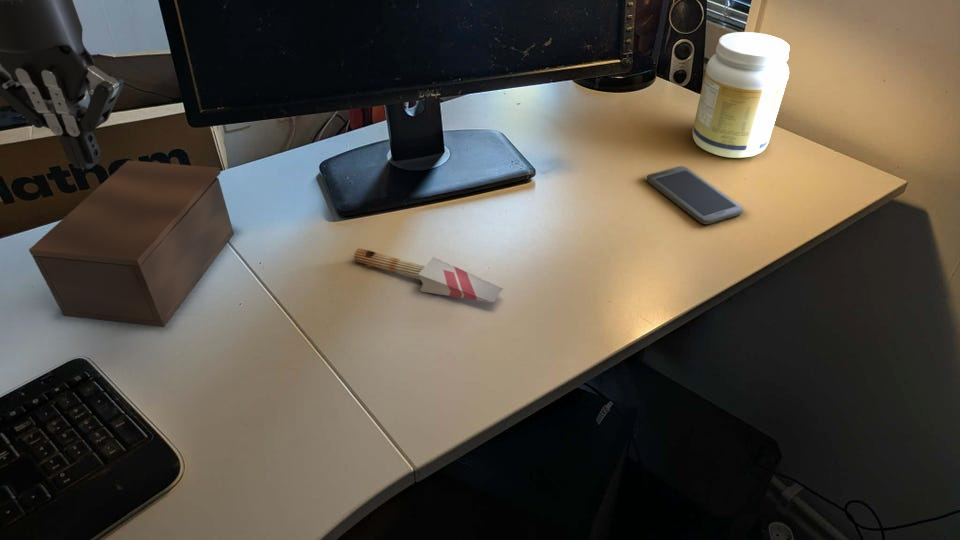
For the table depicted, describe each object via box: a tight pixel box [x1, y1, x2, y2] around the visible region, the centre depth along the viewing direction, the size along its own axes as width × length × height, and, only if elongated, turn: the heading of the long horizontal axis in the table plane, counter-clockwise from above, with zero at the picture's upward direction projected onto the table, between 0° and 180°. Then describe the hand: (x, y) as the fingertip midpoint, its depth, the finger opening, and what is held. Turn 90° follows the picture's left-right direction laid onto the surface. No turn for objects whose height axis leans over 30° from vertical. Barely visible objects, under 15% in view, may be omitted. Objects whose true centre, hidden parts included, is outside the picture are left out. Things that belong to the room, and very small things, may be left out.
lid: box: [28, 160, 221, 266], centre depth 78 cm, size 19×13×1 cm, turn 172°
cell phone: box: [645, 165, 744, 225], centre depth 98 cm, size 7×14×1 cm, turn 25°
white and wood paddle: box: [353, 247, 504, 303], centre depth 82 cm, size 4×3×20 cm
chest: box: [31, 177, 235, 328], centre depth 81 cm, size 19×13×9 cm
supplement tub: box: [692, 31, 791, 159], centre depth 106 cm, size 12×12×17 cm
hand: (88, 164), depth 67 cm, fingers closed
